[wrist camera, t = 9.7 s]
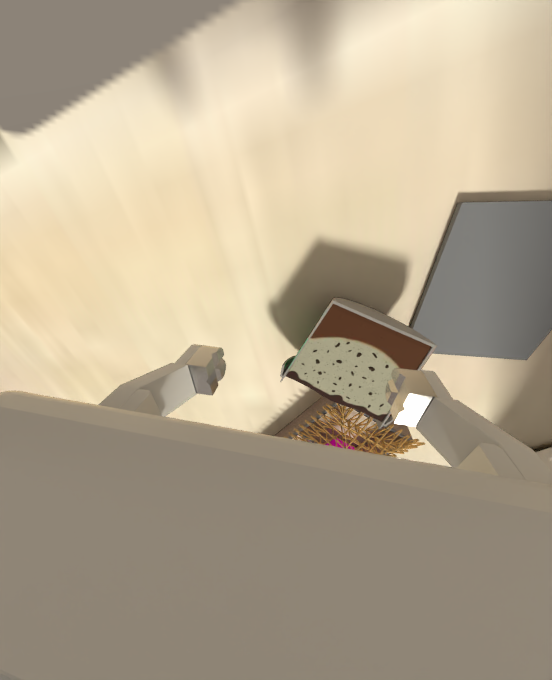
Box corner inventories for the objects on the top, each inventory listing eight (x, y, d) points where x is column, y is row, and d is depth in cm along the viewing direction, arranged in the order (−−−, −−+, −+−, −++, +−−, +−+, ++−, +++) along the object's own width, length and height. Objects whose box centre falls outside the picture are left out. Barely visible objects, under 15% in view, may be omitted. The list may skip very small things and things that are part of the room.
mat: (647, 198, 15) (658, 198, 14) (522, 356, 22) (526, 360, 22) (457, 202, 16) (462, 202, 16) (402, 348, 24) (403, 351, 23)
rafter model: (338, 374, 28) (343, 411, 23) (414, 421, 31) (434, 464, 25) (232, 464, 47) (222, 495, 42) (285, 488, 49) (282, 521, 44)
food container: (319, 284, 23) (286, 355, 28) (316, 293, 18) (275, 379, 22) (424, 329, 22) (373, 395, 27) (454, 353, 17) (384, 432, 21)
